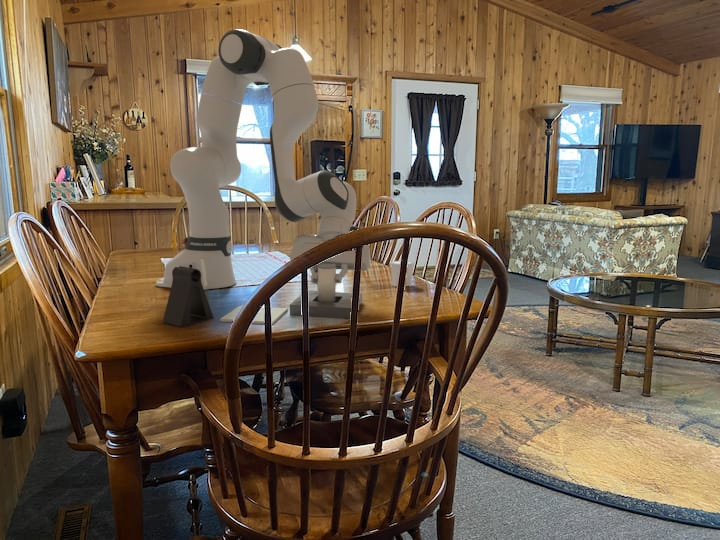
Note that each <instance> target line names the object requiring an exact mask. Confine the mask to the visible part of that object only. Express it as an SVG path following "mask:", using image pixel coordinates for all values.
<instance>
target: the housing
mask: <svg viewBox="0 0 720 540" xmlns="http://www.w3.org/2000/svg"><path fill="white" fill-rule="evenodd" d="M308 291H309V316H308V317H316V318H317V317H322V318H334V319H335V318H336V319H350V312H351V298H352V293H353V292H340V291H339V292H338V291H335V301H334V302H320V301H318V300H317V295H318V290H308ZM362 304H363V293H360V298H359V308H360V307H361V306H362ZM360 305H361V306H360ZM289 316H301V294H300V295H298V296H297V298H296V299H295V298H294V300H293V301H292V302H291V303H289Z"/></svg>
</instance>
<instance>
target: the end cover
mask: <svg viewBox="0 0 720 540" xmlns="http://www.w3.org/2000/svg"><path fill="white" fill-rule="evenodd" d="M335 274H337V269H336V264H335V263H320V264H318V282H317V291H318V295H317V300H318V301H320V302H334V301H335V292H337V291H336V288H337V287H336V286H337V285H336V284H337V283H335Z"/></svg>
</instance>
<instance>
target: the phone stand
mask: <svg viewBox="0 0 720 540" xmlns="http://www.w3.org/2000/svg"><path fill="white" fill-rule="evenodd" d="M172 276H173V282H172V286H171V288H170V290H169V296H168V299H167V304H166V307H165V311H164V315H163V319H162V323H164V324H165V325H171V326H173V327H178V328H180V329H181V328H182V329H183V328H186V327H189V326H194V325H196V324H199V323H203V322H207V321H211V320H213V319H214V315H213V312H212V310H211V307H210V304H209V301H208V297H207V295H206V292H205V290H204V289H203V286H202V283H201V272H200V271H199V270H198V269H193V268H187V267H181V266H179V267H175V268H174V269H173V271H172Z"/></svg>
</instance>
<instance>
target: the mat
mask: <svg viewBox="0 0 720 540" xmlns="http://www.w3.org/2000/svg"><path fill="white" fill-rule="evenodd" d="M242 306H243V305H239V306H237V307H236V308H234V309H233V310H231V311H230V312H228V313H227V314H225V315H224V316H222V317H221V318H220V320H219V321H220V322H223V323H225V322H226V323H233V322H232V321H233V319H234V318H235V316H236V314H237V313H238V311H239V310H240V309H241V307H242ZM271 308H272V325H274V324H275V323H276V322H277V321H279V320H280V318H282V317H283V316H284V315H285V314H286V313H287V312H288V311H289V308H288V307H287V308H286V307H284V308H283V307H271ZM252 324H254V325H255V324H257V325H265V324H264V308H262V309H261V311H260V313H259V314H258V316H257V317H256V319H255V320H254V322H253V323H252ZM272 325H271V326H272Z"/></svg>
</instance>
